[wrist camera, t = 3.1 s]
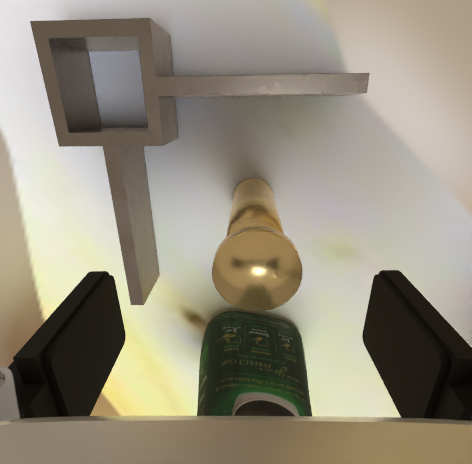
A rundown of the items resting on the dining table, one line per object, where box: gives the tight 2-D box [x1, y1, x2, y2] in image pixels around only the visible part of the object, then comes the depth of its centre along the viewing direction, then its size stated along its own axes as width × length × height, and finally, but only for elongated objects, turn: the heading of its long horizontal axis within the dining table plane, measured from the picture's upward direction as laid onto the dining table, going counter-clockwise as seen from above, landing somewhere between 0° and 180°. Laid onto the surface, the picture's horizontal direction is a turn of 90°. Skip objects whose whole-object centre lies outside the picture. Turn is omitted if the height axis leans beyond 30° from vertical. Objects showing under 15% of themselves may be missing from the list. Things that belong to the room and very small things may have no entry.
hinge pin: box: [212, 178, 302, 311], centre depth 19 cm, size 4×4×12 cm
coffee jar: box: [197, 312, 312, 417], centre depth 22 cm, size 10×8×19 cm
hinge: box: [30, 18, 369, 305], centre depth 22 cm, size 19×19×4 cm
